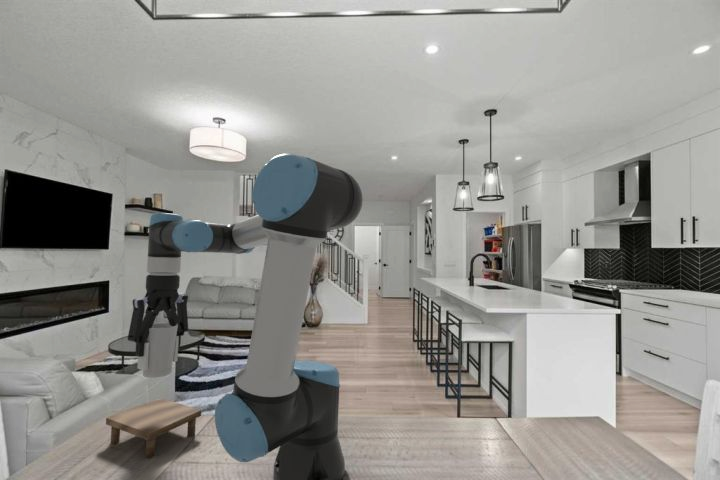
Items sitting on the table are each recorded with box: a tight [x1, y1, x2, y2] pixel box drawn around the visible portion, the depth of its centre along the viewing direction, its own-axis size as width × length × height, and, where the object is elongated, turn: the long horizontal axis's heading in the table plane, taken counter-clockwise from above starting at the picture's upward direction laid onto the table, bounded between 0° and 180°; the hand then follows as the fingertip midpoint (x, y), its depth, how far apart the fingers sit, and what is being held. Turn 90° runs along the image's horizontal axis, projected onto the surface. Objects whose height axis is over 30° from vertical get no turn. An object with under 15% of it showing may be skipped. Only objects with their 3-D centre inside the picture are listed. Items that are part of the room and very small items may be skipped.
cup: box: [142, 321, 178, 379], centre depth 90 cm, size 8×8×12 cm
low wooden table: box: [105, 397, 202, 459], centre depth 89 cm, size 16×14×6 cm
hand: (158, 364), depth 89 cm, fingers closed on cup, 7 cm apart
